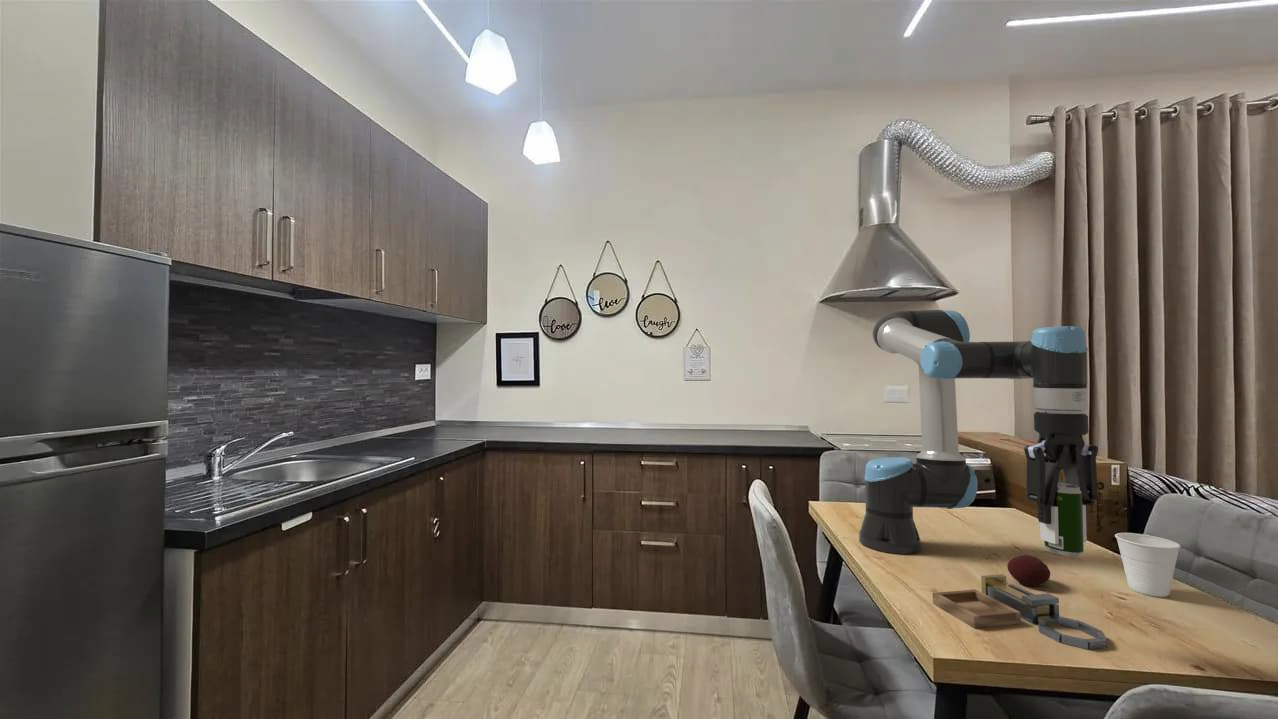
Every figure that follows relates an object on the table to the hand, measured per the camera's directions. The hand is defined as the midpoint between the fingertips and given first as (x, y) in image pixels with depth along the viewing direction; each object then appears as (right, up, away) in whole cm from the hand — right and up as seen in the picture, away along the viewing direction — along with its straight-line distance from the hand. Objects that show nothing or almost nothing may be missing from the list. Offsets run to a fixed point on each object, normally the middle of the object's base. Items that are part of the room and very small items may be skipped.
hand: (1063, 540), depth 89 cm
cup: (+33, -17, +17) cm, 41 cm away
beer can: (0, -2, 0) cm, 2 cm away
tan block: (-1, -17, +9) cm, 19 cm away
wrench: (0, -17, +4) cm, 17 cm away
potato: (+11, -18, +21) cm, 29 cm away
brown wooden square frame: (-11, -17, +7) cm, 21 cm away
